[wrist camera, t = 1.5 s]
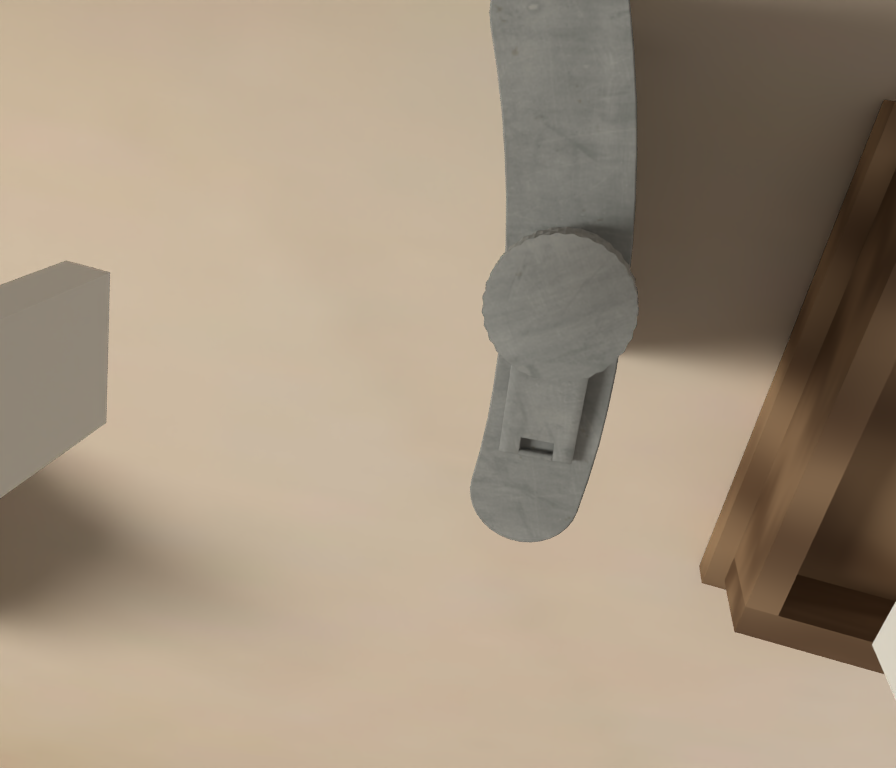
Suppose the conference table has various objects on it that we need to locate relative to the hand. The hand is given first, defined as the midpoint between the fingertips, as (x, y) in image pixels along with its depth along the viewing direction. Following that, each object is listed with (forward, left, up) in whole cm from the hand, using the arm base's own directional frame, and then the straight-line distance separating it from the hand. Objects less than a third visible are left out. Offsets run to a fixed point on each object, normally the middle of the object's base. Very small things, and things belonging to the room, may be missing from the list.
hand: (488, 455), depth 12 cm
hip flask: (0, 0, -27) cm, 27 cm away
